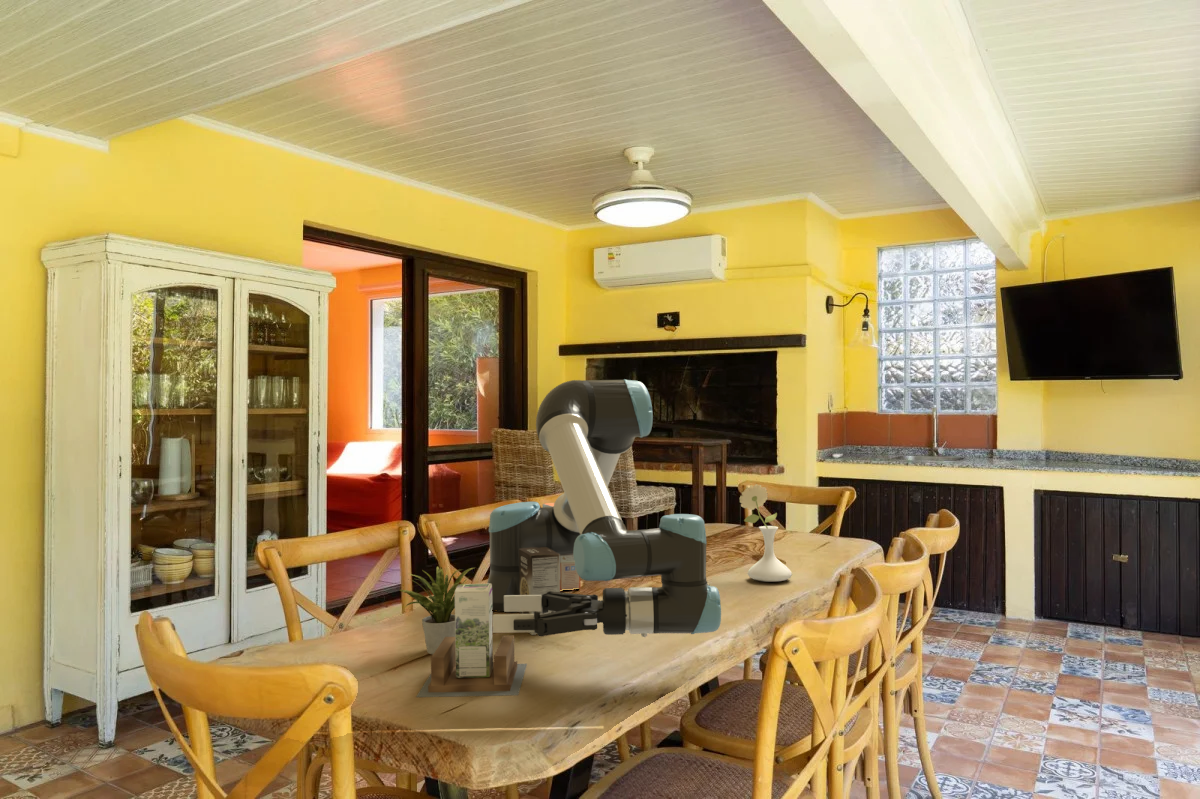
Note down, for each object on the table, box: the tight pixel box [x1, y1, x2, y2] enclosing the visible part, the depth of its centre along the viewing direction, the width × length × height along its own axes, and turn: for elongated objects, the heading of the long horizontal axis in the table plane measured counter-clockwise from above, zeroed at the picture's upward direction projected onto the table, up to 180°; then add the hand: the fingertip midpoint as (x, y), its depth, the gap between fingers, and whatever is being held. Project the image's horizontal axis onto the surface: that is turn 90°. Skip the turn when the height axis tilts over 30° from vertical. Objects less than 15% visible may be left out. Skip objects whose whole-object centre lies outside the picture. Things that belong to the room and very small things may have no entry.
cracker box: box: [542, 502, 582, 590], centre depth 209 cm, size 14×6×21 cm, turn 21°
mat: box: [415, 663, 528, 698], centre depth 135 cm, size 16×16×1 cm
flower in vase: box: [739, 483, 793, 583], centre depth 211 cm, size 13×11×25 cm
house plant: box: [399, 566, 477, 655], centre depth 154 cm, size 14×14×16 cm
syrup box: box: [454, 583, 494, 678], centre depth 135 cm, size 6×6×14 cm
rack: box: [428, 635, 518, 692], centre depth 135 cm, size 13×12×6 cm
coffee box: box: [519, 547, 561, 636], centre depth 168 cm, size 9×6×16 cm
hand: (498, 613), depth 135 cm, fingers open, 13 cm apart
